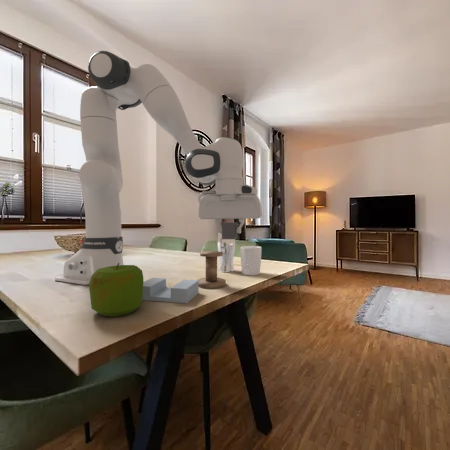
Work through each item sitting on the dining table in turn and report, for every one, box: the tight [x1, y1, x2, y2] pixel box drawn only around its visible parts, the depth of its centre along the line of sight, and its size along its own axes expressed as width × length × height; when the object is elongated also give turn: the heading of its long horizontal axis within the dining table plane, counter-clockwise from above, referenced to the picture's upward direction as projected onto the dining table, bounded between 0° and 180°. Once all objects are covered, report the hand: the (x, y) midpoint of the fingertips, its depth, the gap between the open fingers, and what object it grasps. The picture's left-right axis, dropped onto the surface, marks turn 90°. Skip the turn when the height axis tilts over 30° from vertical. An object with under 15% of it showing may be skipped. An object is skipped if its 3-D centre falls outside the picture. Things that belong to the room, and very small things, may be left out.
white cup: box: [239, 245, 262, 276], centre depth 98 cm, size 8×8×10 cm
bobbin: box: [197, 250, 227, 290], centre depth 81 cm, size 9×9×10 cm
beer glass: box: [217, 232, 236, 273], centre depth 103 cm, size 7×7×15 cm
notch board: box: [142, 277, 200, 304], centre depth 69 cm, size 14×9×4 cm, turn 77°
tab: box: [221, 222, 239, 240], centre depth 84 cm, size 4×6×5 cm, turn 168°
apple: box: [88, 263, 144, 318], centre depth 58 cm, size 11×11×11 cm
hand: (230, 233), depth 84 cm, fingers closed on tab, 4 cm apart
